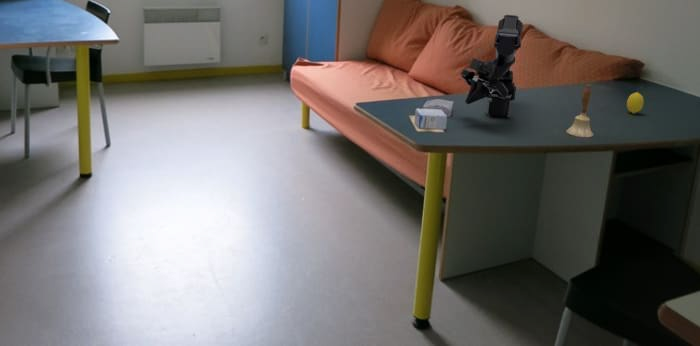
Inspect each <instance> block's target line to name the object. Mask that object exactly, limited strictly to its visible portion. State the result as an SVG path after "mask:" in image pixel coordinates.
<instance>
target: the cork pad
mask: <svg viewBox="0 0 700 346" xmlns="http://www.w3.org/2000/svg"><path fill="white" fill-rule="evenodd" d="M408 118H409V120H410V121H411V124H412V125H413V127H414V129H415V131H416V132H418V133H420V132H421V133H442V134H444V133H445V129H424V128H418V126H417V125H416V123H415V121H414V120H415V115H408Z"/></svg>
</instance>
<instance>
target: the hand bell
mask: <svg viewBox="0 0 700 346" xmlns="http://www.w3.org/2000/svg"><path fill="white" fill-rule="evenodd" d="M581 97H582V98H581V101H582V107H581V111H580V114H579V115H577V116H575V117H574V121H573V122H572V125H571V126H570V127H569V128H568V129H566V131H565V132H566V134H568V135H571V136H573V137H577V138H589V139H590V138H592V137H594V133H593V132H592V131H591V127H590V126H591V125H590V122H591V120H590V119H591V118H590V117H589V116H587V112H588V105H589V103H590V101H591V98H592V86H591V84H586V85H585V88H584V90H583V92H582V96H581Z"/></svg>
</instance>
